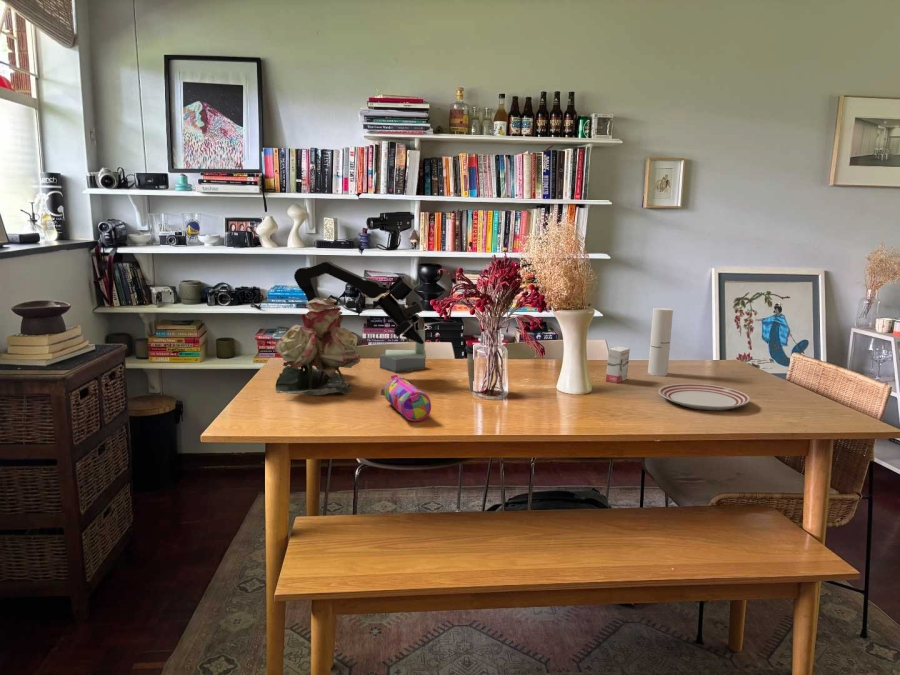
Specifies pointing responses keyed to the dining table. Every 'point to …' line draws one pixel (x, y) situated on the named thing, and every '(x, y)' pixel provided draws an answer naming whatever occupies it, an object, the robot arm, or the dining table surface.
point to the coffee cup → (470, 365)
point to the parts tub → (401, 364)
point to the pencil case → (407, 399)
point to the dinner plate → (704, 396)
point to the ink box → (617, 364)
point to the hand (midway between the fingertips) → (424, 342)
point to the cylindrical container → (660, 341)
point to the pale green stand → (416, 353)
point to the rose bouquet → (317, 352)
